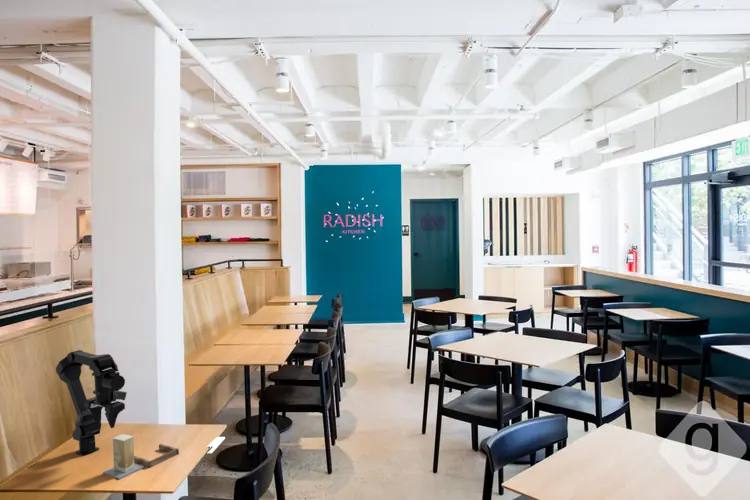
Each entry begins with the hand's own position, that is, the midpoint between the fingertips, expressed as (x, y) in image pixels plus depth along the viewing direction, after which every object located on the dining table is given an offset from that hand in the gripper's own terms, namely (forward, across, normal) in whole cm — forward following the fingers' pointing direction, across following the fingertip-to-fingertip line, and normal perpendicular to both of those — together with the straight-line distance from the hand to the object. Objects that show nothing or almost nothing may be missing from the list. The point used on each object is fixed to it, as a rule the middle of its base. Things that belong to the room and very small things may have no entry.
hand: (105, 425), depth 197 cm
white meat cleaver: (+14, -29, -28) cm, 42 cm away
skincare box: (+13, -16, +3) cm, 21 cm away
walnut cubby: (+13, -17, -9) cm, 23 cm away
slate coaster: (+13, -16, +3) cm, 21 cm away
